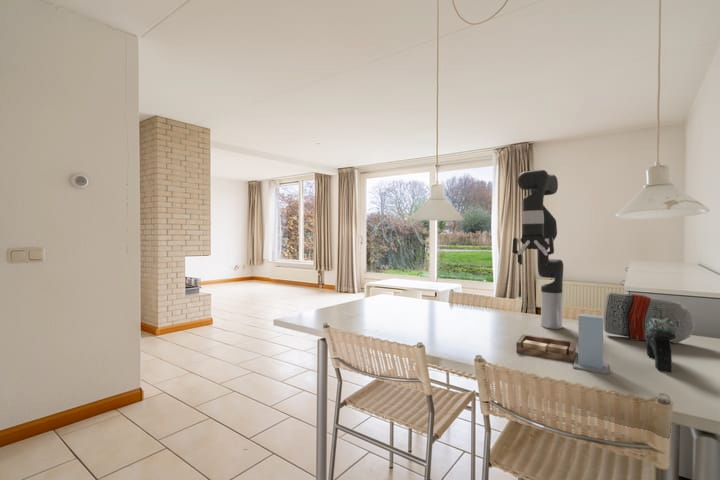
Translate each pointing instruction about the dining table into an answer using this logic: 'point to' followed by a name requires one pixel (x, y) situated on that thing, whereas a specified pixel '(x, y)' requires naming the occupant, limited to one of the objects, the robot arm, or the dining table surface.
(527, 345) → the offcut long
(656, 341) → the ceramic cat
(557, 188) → the robot arm
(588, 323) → the pale blue tall prism
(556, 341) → the rack
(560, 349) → the offcut short
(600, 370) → the mat
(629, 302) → the grey red knit hat
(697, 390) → the dining table surface
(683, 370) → the dining table surface
